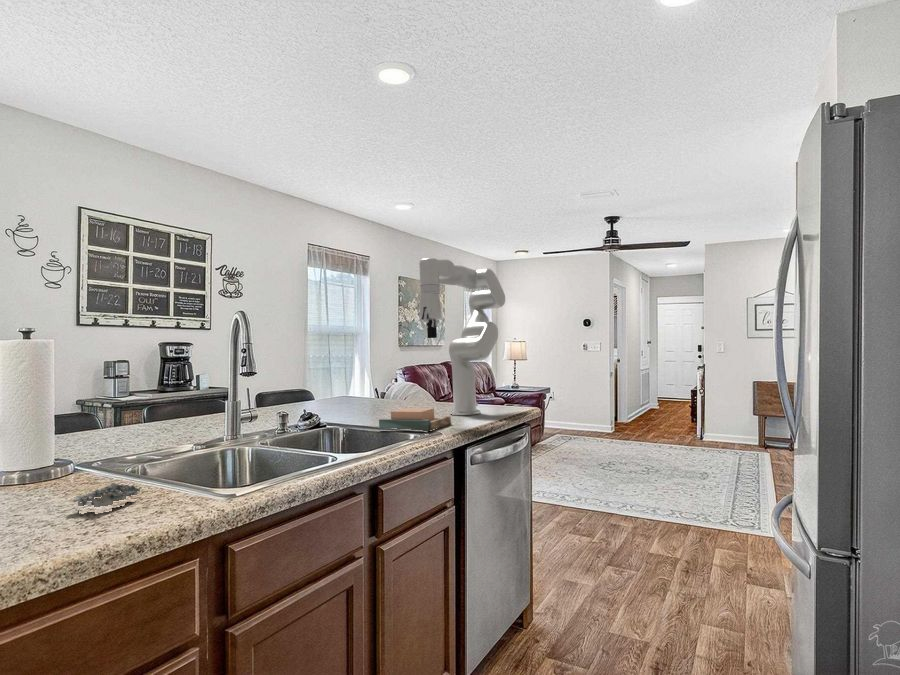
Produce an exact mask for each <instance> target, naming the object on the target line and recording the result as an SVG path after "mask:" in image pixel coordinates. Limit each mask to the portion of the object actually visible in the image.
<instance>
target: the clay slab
mask: <svg viewBox="0 0 900 675" xmlns="http://www.w3.org/2000/svg"><path fill="white" fill-rule="evenodd" d="M434 418H435V408H433V407H431V408H430V407H428V408H427V407H423V408H422V407H421V408H420V407H403V408H400V409H396V410H391V411H390V419H415V420H430V421H431V420H434Z"/></svg>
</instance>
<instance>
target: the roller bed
mask: <svg viewBox="0 0 900 675" xmlns="http://www.w3.org/2000/svg"><path fill="white" fill-rule="evenodd" d="M451 419H452V418H451V415H449V416H447V415H446V416H443V417H441V418H440V417H434V420H431V421H430V420H415V419H391V418H380V419H378V425H379V427H380V428H397V429H411V430H423V431H430V430H433V429H436V428H440V427H442V428H444V427H443V426H445V427H447V426H446V425H448V426H450V425H449V424H451V425H452V421H451ZM440 429H441V428H440Z"/></svg>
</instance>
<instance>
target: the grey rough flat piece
mask: <svg viewBox="0 0 900 675" xmlns="http://www.w3.org/2000/svg"><path fill="white" fill-rule="evenodd" d="M141 489H142V486H139V487H138V488H137V487H136V486H135V484H132V485H129V484H118V483H115V482H113V483H110V484H109V485H107V486H106V487H102V488H101V489H98V488H97V489H95V490H93V491H91V492H88V493H86V494H79V495H76V496H75V498H74V499H73V500H72V502H73V503H77V507H78V506H84V505H88V506H91V505H94V507H100V506H108V505H112V504H113V501H119V500H124V499H126V496H131V495H137V494H138V493H139V492H140V493H141ZM120 491H121V492H120ZM101 496H102V497H101ZM137 496H138V495H137ZM94 497H101V498H95V499H94ZM87 501H92V502H87ZM80 502H82V503H80Z"/></svg>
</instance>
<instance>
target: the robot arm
mask: <svg viewBox="0 0 900 675" xmlns="http://www.w3.org/2000/svg"><path fill="white" fill-rule="evenodd" d="M418 265H419V286H420V288H419V290H420V297H419V319H420V320H422V321H423V322H424V323H425V324H426V329H427V330H426V331H427V339H436V338H437V337H438V335H437V327H438V323H440V319H441V318H442V306H441V298H440V294H441V288H440V287H441V286H440V285H448V286H458V287H462V288H465V289H468V290H477V291H474V292H472V293H471V294H470V295H469V297H468V304H469V311H470V317H469V318H468V321H466V324H465V326H464V327H463V329H462V331H461V338H460V337H459V338H456V339H453V340H452V341H450V343H449V345H448V353H449V357H450V363H451V373H452V374H451V375H452V395H453V396H452V397H453V399H452V400H453V401H452V402H453V410H450V411H449V412H450V415H451V414H452V415H453V416H472V415H473V416H474V415H479V414H480V413H481V409H477V407H478V406H479V403H478V402H477V393H476V392H477V389H476V371H475V370H476V369H475V368H474V366H473V364H472V363H471V362H474V361H475V362H477V361H484V360H486V359H487V358H488V357H489V356H490V354H491V352H492V350H493V348H494V347H495V345H496V343H497V341H498V338H499V328H498V326H497V324H496V323H494V322H493V321H489V317H488V316H487V314H486V313H485V311H484V310H487V309H488V310H489V309H490V310H491V309H500V308H502V307H503V306H505V303H506V294H505V292H504V290H503V288H502V285H501V283H500V281H499V279H498V277H497V275H496V273H495V272H494V271H493V270H492V269H491V268H487V267H485V268H479V269H473V268H469V267H467V266H463V265H455V264H454V262H453V261H451V260H449V259H445V258H443V259H437V258H435V257H425V258H422V259H420V260H419V263H418ZM480 289H482V290H480Z"/></svg>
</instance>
